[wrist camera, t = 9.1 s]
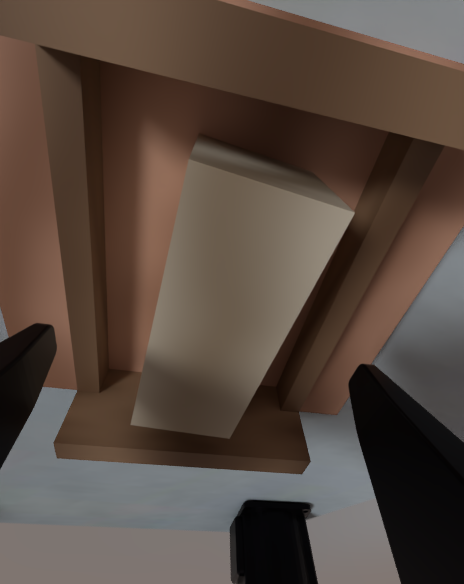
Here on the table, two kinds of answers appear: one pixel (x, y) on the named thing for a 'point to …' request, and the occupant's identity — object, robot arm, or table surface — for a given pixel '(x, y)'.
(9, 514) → the table surface
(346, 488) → the table surface
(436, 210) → the cradle
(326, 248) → the block
